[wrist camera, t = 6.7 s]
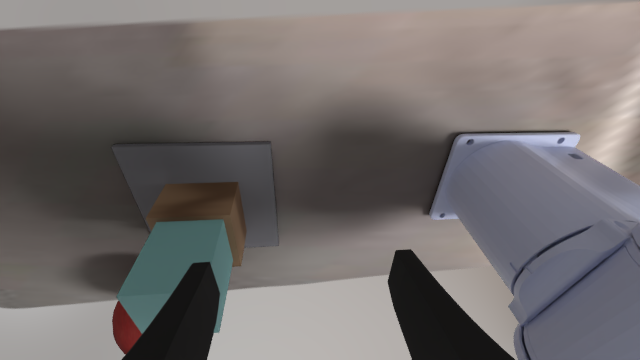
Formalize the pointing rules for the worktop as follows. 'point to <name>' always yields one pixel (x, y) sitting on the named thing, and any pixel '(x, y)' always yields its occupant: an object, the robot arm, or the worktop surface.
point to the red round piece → (124, 329)
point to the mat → (206, 177)
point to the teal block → (175, 266)
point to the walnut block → (204, 209)
